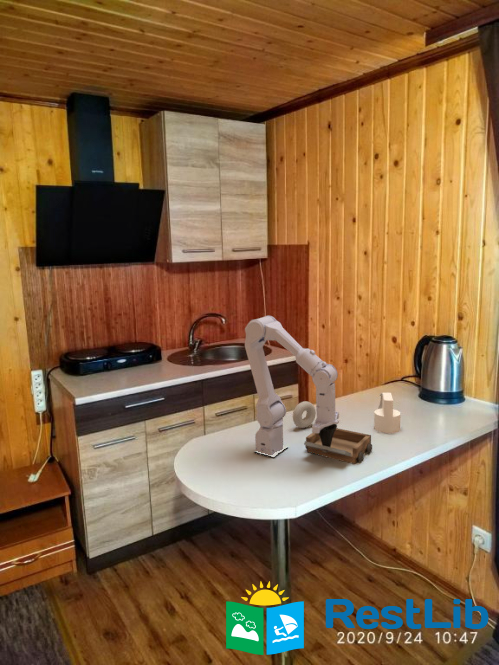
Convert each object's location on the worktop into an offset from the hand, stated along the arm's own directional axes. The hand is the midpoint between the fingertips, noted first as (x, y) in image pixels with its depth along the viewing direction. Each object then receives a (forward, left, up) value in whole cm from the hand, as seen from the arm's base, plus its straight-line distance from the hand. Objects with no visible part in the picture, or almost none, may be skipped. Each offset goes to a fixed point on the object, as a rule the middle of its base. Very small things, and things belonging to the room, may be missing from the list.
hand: (326, 447), depth 147 cm
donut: (+21, +19, -5) cm, 29 cm away
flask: (+43, -3, -5) cm, 43 cm away
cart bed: (+9, 0, -5) cm, 10 cm away
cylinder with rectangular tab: (+35, -7, -5) cm, 36 cm away
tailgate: (+3, 0, -3) cm, 4 cm away
